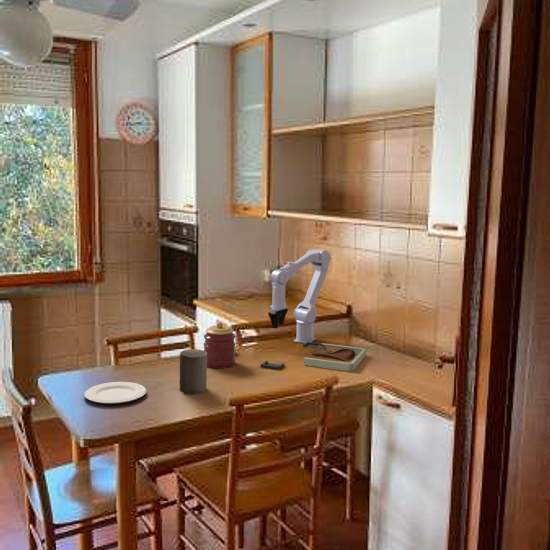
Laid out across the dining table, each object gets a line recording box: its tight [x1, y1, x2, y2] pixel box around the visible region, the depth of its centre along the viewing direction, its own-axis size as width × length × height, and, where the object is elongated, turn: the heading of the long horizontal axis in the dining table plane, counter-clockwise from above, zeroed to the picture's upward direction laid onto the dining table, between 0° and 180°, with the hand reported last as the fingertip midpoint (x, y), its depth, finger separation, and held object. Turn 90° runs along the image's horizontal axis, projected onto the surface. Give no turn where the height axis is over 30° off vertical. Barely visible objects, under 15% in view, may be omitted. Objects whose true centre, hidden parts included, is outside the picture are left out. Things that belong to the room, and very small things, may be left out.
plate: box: [84, 381, 147, 405], centre depth 210 cm, size 21×21×2 cm
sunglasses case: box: [311, 343, 356, 362], centre depth 264 cm, size 18×7×7 cm
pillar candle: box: [178, 348, 208, 395], centre depth 217 cm, size 10×10×15 cm
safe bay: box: [303, 342, 367, 373], centre depth 258 cm, size 25×20×3 cm
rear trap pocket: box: [302, 341, 321, 349], centre depth 277 cm, size 5×8×1 cm, turn 69°
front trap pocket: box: [260, 360, 285, 371], centre depth 247 cm, size 6×8×1 cm
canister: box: [203, 321, 237, 369], centre depth 247 cm, size 13×13×18 cm
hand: (278, 326), depth 275 cm, fingers open, 7 cm apart
